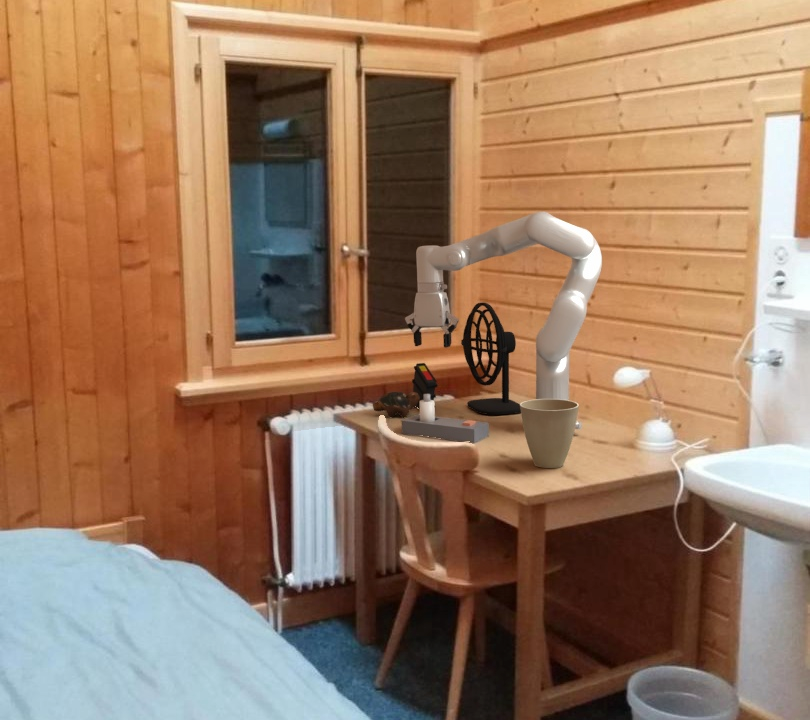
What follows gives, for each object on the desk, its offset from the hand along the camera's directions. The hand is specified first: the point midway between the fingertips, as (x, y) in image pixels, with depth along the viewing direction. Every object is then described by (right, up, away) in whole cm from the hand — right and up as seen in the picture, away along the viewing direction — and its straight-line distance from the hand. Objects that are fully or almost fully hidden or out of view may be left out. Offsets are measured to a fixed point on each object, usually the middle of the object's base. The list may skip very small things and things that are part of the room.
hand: (432, 346), depth 288 cm
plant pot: (+29, -31, -35) cm, 55 cm away
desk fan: (+20, -20, +30) cm, 41 cm away
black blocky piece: (-2, -21, +31) cm, 37 cm away
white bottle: (-1, -25, 0) cm, 25 cm away
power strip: (+4, -26, -3) cm, 26 cm away
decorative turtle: (-11, -22, +23) cm, 34 cm away
